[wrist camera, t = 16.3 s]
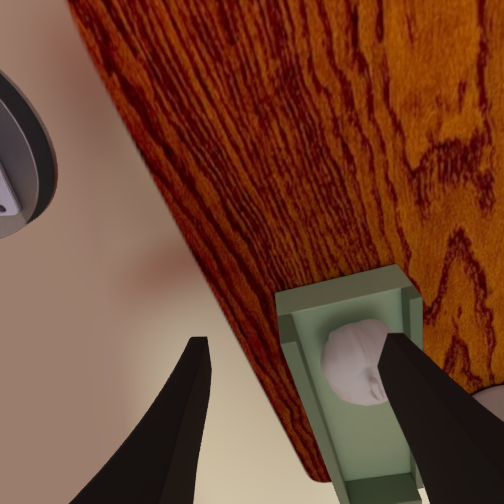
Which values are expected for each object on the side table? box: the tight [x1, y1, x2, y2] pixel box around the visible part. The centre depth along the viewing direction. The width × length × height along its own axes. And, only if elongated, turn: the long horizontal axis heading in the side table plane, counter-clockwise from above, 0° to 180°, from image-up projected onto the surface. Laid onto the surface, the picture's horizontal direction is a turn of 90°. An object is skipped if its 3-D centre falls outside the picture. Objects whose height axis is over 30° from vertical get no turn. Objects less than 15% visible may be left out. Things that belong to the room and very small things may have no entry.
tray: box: [275, 264, 424, 504], centre depth 26 cm, size 28×9×5 cm, turn 17°
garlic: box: [320, 319, 393, 406], centre depth 19 cm, size 6×5×5 cm
